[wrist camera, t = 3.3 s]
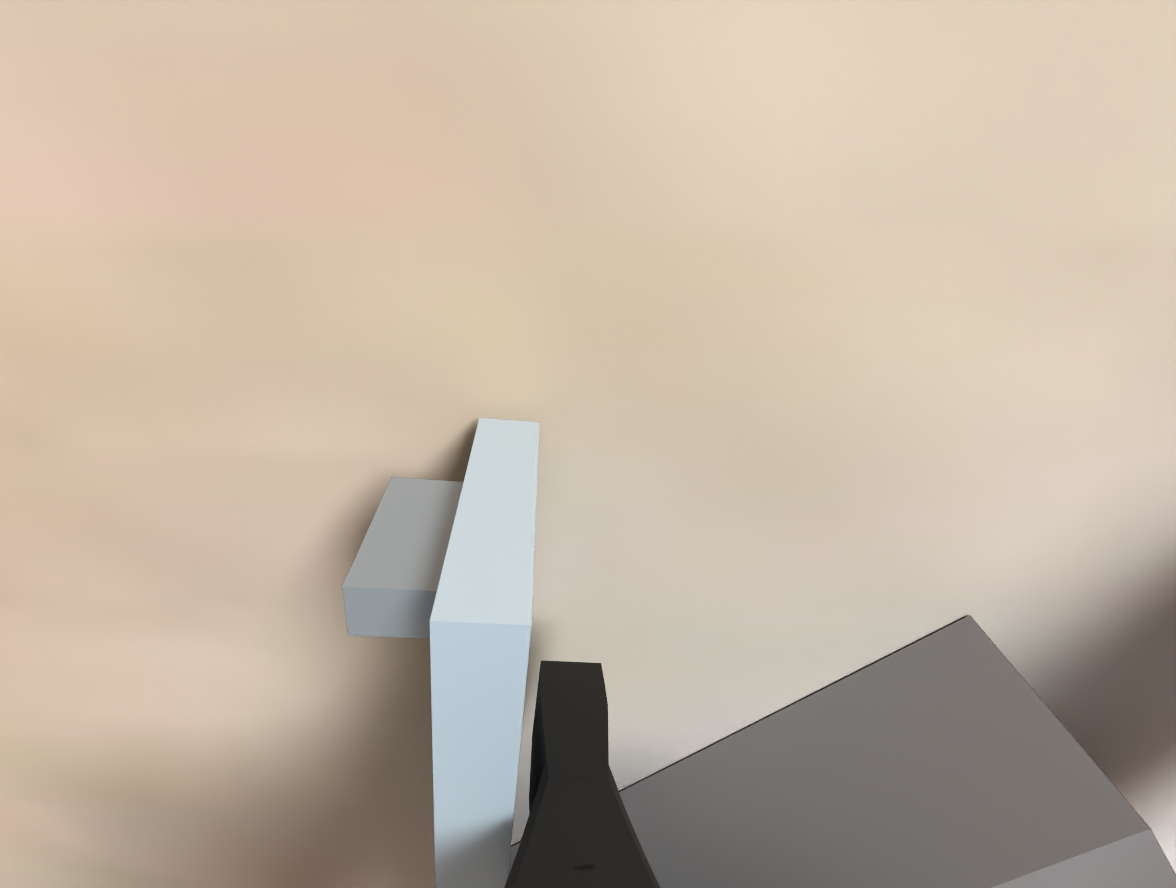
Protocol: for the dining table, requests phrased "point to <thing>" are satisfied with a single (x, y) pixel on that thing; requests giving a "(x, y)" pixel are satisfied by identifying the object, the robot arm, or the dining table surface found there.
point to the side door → (462, 631)
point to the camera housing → (899, 789)
